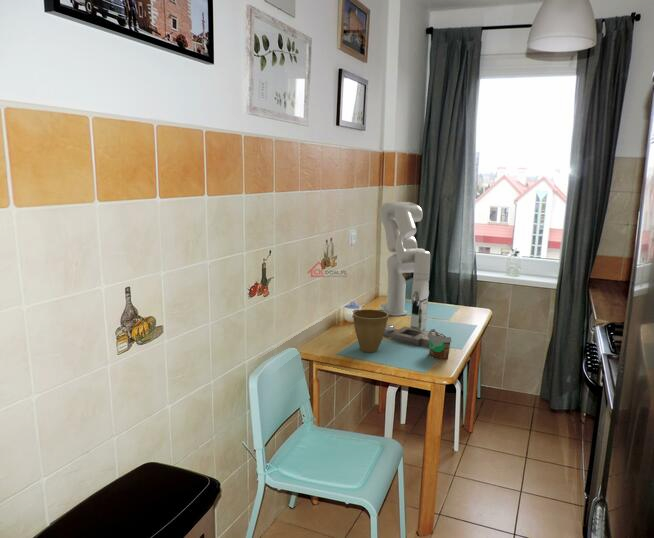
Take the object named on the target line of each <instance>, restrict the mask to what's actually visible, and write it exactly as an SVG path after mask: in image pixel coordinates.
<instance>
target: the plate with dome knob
mask: <svg viewBox="0 0 654 538" xmlns="http://www.w3.org/2000/svg"><path fill="white" fill-rule="evenodd" d="M397 330H399V328H398V329H397V328H395V325H393V324H386V328H385V332H384V336H383V337H385V336H386V337H385V338H389V337H390V338H389V339H390V340H391V341H394V340H395V341H396V342H400V343H404V344H407V343H408V345H411V344H412V346H416V345H417V347H419V346H421V345H420V342H419V343H417V342H413V341H408V340H404V339H400V338H395V337H391V333H393V332H395V331H397ZM405 334H407V335H411V336H417V335H418V334H413V333H409V332H407V333H405ZM395 341H394V342H395Z"/></svg>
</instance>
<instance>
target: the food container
mask: <svg viewBox="0 0 654 538" xmlns="http://www.w3.org/2000/svg"><path fill="white" fill-rule="evenodd" d="M427 337H428V338H429V349H428V350H429V351H428V352H429V353H428V354H429V355H430V356H431V358H432V357H433V358H432V359H435V360H441V361H442V360H443V361H444V360H445V361H446V360H449V355H450V354H449V353H450V348H451V347H450V346H451V343H452V336H446V335H445V334H443V333H440V332H437V331H436V328H433V329H432V328H431V329H429V333H428V336H427ZM430 356H429V357H430Z"/></svg>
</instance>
